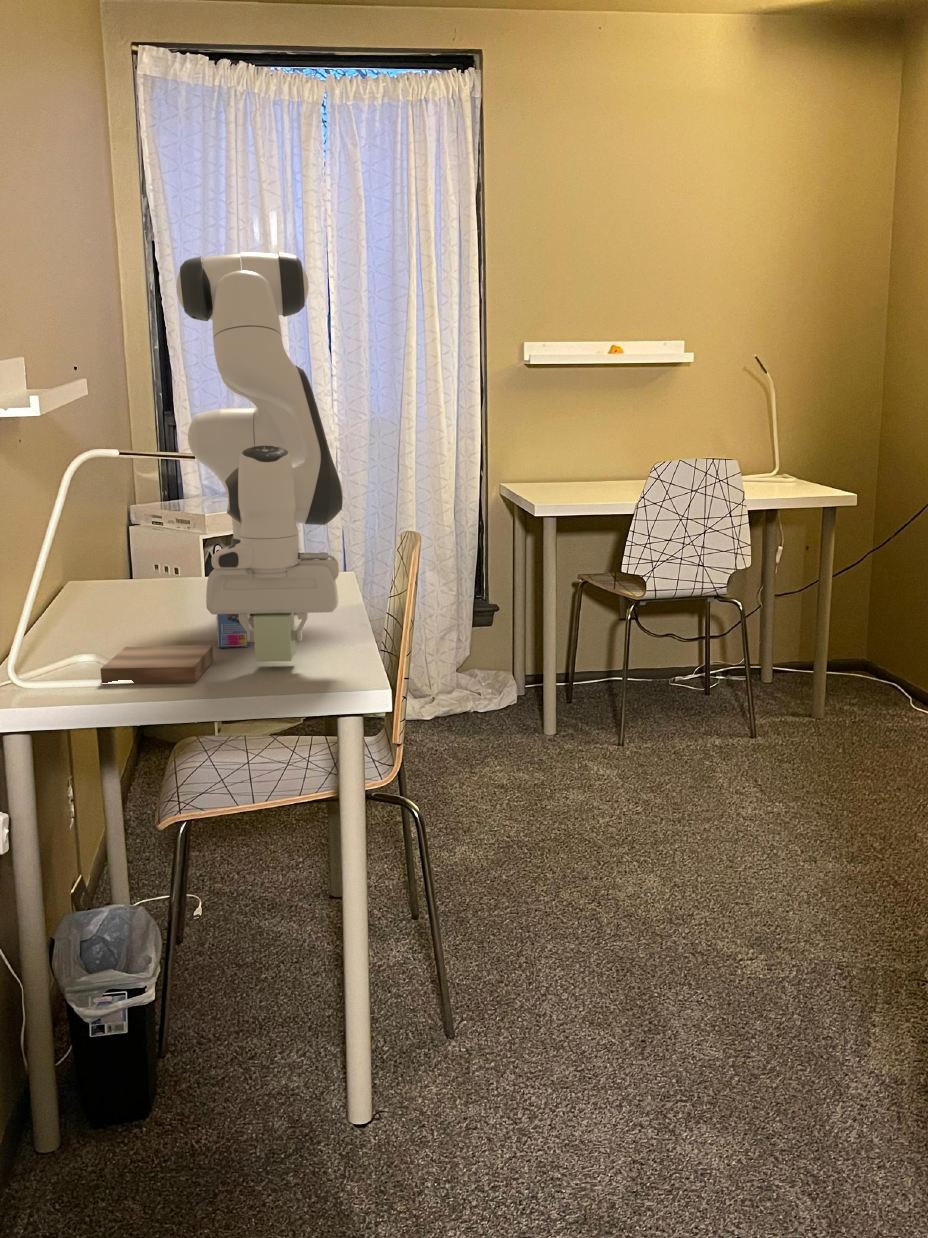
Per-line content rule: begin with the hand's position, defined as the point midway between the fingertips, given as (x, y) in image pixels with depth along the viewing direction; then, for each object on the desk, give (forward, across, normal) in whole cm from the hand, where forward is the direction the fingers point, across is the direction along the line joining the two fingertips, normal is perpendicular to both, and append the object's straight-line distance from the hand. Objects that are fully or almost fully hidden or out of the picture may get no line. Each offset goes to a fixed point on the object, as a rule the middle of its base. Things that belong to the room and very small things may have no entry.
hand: (274, 640), depth 182 cm
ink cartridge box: (+5, +10, -19) cm, 22 cm away
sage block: (+3, 0, 0) cm, 3 cm away
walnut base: (+4, +18, +1) cm, 19 cm away
